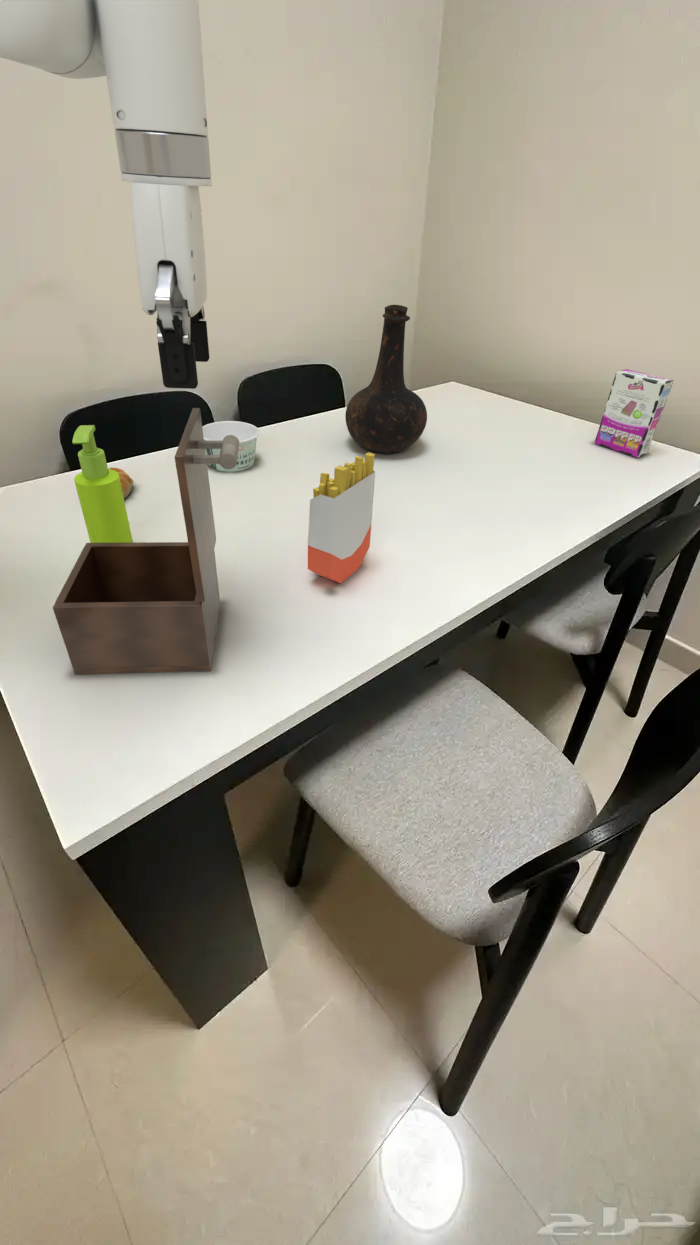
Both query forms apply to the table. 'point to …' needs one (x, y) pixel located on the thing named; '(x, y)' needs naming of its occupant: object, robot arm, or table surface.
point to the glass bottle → (387, 396)
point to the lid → (200, 494)
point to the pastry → (124, 481)
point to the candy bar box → (633, 412)
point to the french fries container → (341, 519)
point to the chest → (137, 610)
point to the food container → (245, 436)
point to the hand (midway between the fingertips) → (188, 373)
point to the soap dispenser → (100, 492)
